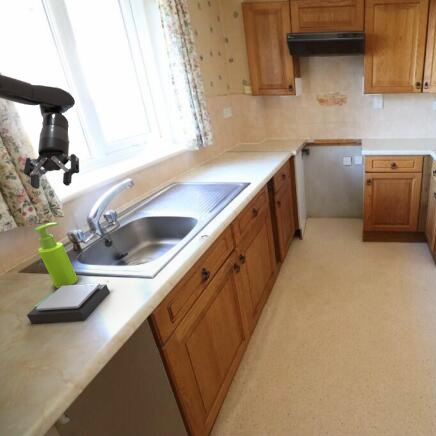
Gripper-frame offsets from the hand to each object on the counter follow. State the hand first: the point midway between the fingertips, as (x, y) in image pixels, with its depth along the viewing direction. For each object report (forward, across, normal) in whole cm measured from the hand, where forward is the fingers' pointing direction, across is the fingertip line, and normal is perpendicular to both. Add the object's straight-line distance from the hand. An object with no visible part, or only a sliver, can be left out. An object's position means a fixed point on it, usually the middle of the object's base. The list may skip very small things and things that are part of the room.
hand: (50, 186), depth 101 cm
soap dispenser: (+28, 0, +12) cm, 31 cm away
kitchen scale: (+39, +7, +2) cm, 40 cm away
